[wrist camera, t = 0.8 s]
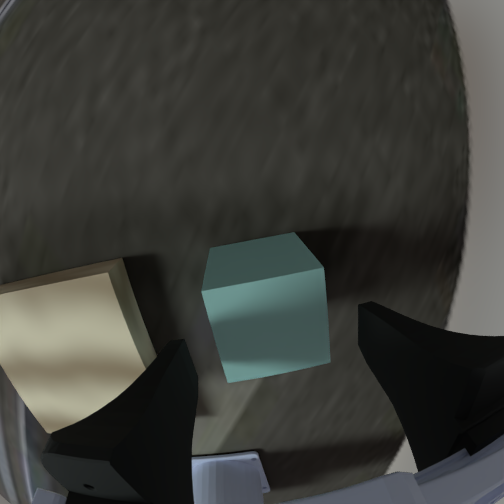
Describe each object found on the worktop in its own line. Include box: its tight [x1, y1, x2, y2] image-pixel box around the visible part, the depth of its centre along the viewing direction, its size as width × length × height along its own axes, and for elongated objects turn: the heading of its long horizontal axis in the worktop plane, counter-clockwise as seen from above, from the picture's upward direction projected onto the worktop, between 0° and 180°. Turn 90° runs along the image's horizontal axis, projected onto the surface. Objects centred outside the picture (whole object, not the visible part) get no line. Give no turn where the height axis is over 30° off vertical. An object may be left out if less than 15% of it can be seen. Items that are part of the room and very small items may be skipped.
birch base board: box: [0, 258, 157, 433], centre depth 18 cm, size 14×14×2 cm
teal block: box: [202, 232, 330, 383], centre depth 16 cm, size 5×5×6 cm
